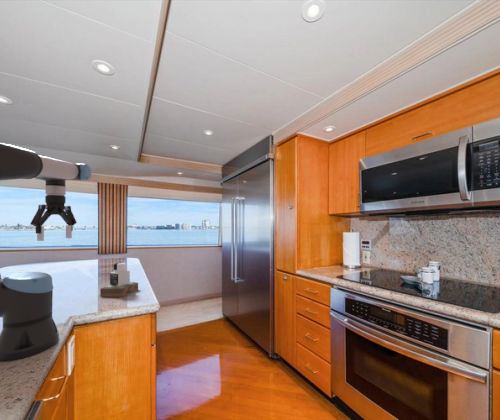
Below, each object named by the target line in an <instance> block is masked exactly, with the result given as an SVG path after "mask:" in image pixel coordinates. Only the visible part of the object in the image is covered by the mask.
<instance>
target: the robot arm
mask: <svg viewBox="0 0 500 420" xmlns="http://www.w3.org/2000/svg"><path fill="white" fill-rule="evenodd" d="M91 177H92V170H91V167H90V165H88V164H87V163H73V162H70V161H65V160H61V159H58V158H57V159H56V158H52V157H49V156H45V155H43V156H42V155H40V154H38V153H37V152H35V151H33V150H30V149H27V148H23V147H19V146H15V145H12V144H7V143H3V142H0V182H1V181H10V180H30V179H31V180H32V179H35V180H41V181H43V182H44V181H45V195H44V196H45V197H44V198H45V201H44V202H45V203H46V204H38V209H37V211H36V213H35V214H34V216H33V218H32V219H31V221H30V225H31V226H33V227H35V234H36V241H38V242H42V241H44V239H45V226H44V224H45V223H46V221H48V219H49V218H50V217H51V216H52V215H55V216H57V215H58V216H60V217H61V219H62V220H63V221H64V222H65V224H66V225H65V238H66V239H72V237H73V235H72V234H73V227H74V225H76V224H77V220H76V218H75V215H74V213H73V211H72V206H70V205H65V204H66V196H65V195H66V193H67V192H66V190H67V189H66V181H88V180H90V179H91ZM53 284H54V283H53V278H52V275H50V274H48V273H47V272H42V271H24V272H15V273H13V272H12V273H9V274H6V275H5V276H3V278H2V275H1V274H0V318H2V329H1V332H0V362H6V361H15V360H19V359H20V360H21V359H24V358H28V357H30V356H33V355H37V354H40V353H41V352H43V351H45V350H47V349H49V348H51V347H53V346H54V345H56V344H57V343H58V341H59V339H60V332H59V330H58V328H57V325H56V323H55V320H54V318H53V297H54V296H53V294H54V293H53V292H54V285H53Z"/></svg>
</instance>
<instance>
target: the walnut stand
mask: <svg viewBox="0 0 500 420" xmlns="http://www.w3.org/2000/svg"><path fill="white" fill-rule="evenodd" d="M138 290H139V283H138V282H136V281H135V282H134V281H130V283H129V284H126V285H123V286H119V287H117V286H111V285H110V284H108V285H105V286H103V287H101V288H100V297H109V298H111V297H112V298H123V297H125V295H126V296H127V295H129V294H131V293H134V292H136V291H138Z"/></svg>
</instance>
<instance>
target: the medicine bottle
mask: <svg viewBox="0 0 500 420" xmlns="http://www.w3.org/2000/svg"><path fill="white" fill-rule="evenodd" d="M130 273H131V272H130V270H127V263H126V262H124V261H123V262H121V261H119V262H115V263H114V264H113V271H110V273H109V285H111V286H117V287H119V286H123V285H126V284H129V283H130V282H131V279H130V278H131V275H130Z"/></svg>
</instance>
